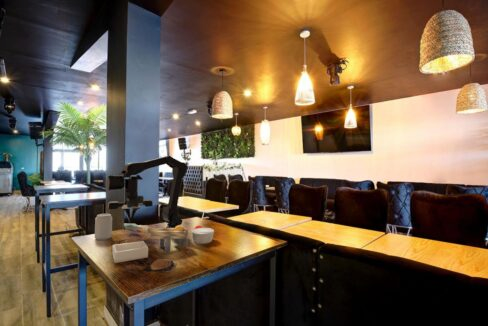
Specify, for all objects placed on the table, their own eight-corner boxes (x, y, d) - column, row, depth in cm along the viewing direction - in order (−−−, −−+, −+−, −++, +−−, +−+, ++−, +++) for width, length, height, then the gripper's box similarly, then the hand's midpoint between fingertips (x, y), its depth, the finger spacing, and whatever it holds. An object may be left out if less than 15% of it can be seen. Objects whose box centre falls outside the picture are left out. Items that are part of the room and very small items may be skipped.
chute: (171, 232, 127) (173, 219, 127) (187, 245, 106) (190, 230, 107) (122, 231, 114) (125, 218, 115) (130, 247, 94) (133, 230, 94)
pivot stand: (163, 246, 112) (163, 231, 112) (170, 253, 103) (170, 237, 103) (159, 246, 111) (159, 231, 111) (165, 254, 102) (166, 237, 102)
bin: (143, 249, 107) (143, 240, 107) (147, 257, 98) (148, 247, 98) (112, 254, 100) (112, 245, 100) (114, 263, 92) (115, 252, 92)
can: (103, 241, 117) (104, 216, 117) (90, 239, 119) (91, 215, 119) (115, 236, 124) (115, 213, 125) (102, 235, 126) (103, 212, 126)
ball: (180, 233, 113) (182, 225, 113) (183, 235, 109) (185, 227, 110) (172, 232, 111) (174, 223, 111) (174, 234, 107) (177, 225, 108)
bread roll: (177, 264, 93) (177, 254, 93) (172, 274, 85) (172, 263, 85) (149, 264, 92) (149, 254, 93) (140, 274, 84) (141, 263, 84)
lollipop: (210, 233, 135) (210, 211, 135) (192, 234, 131) (193, 212, 131) (207, 230, 140) (208, 209, 140) (191, 231, 137) (191, 210, 137)
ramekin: (195, 245, 113) (195, 234, 114) (188, 239, 123) (189, 228, 123) (217, 242, 119) (217, 232, 119) (209, 236, 129) (209, 226, 129)
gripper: (110, 192, 102) (109, 228, 102) (155, 190, 112) (154, 223, 112) (108, 189, 111) (107, 223, 111) (150, 188, 122) (149, 218, 121)
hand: (130, 222), depth 114 cm, fingers closed
